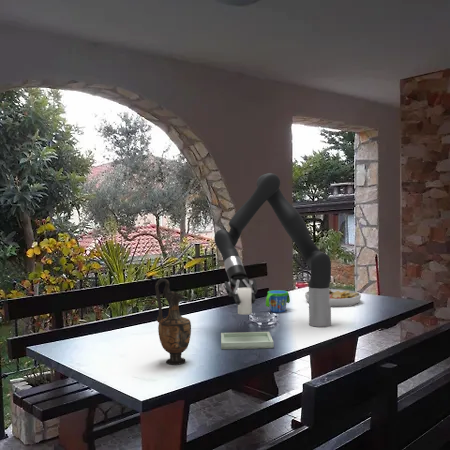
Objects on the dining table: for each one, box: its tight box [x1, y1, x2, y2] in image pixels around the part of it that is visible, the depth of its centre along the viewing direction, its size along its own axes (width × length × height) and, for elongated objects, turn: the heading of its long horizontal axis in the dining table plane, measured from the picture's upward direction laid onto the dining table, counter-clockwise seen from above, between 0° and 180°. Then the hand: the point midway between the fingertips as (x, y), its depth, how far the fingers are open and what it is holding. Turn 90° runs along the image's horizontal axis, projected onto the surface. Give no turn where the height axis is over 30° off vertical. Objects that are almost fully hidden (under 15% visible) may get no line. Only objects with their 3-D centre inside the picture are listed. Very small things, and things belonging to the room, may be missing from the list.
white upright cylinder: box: [237, 287, 253, 316], centre depth 201 cm, size 6×6×10 cm
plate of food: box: [304, 288, 362, 308], centre depth 278 cm, size 30×30×8 cm
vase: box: [154, 278, 192, 366], centre depth 178 cm, size 12×12×30 cm
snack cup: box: [265, 289, 291, 313], centre depth 258 cm, size 16×10×10 cm
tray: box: [220, 331, 275, 350], centre depth 200 cm, size 20×15×2 cm
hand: (246, 302), depth 199 cm, fingers closed on white upright cylinder, 5 cm apart
